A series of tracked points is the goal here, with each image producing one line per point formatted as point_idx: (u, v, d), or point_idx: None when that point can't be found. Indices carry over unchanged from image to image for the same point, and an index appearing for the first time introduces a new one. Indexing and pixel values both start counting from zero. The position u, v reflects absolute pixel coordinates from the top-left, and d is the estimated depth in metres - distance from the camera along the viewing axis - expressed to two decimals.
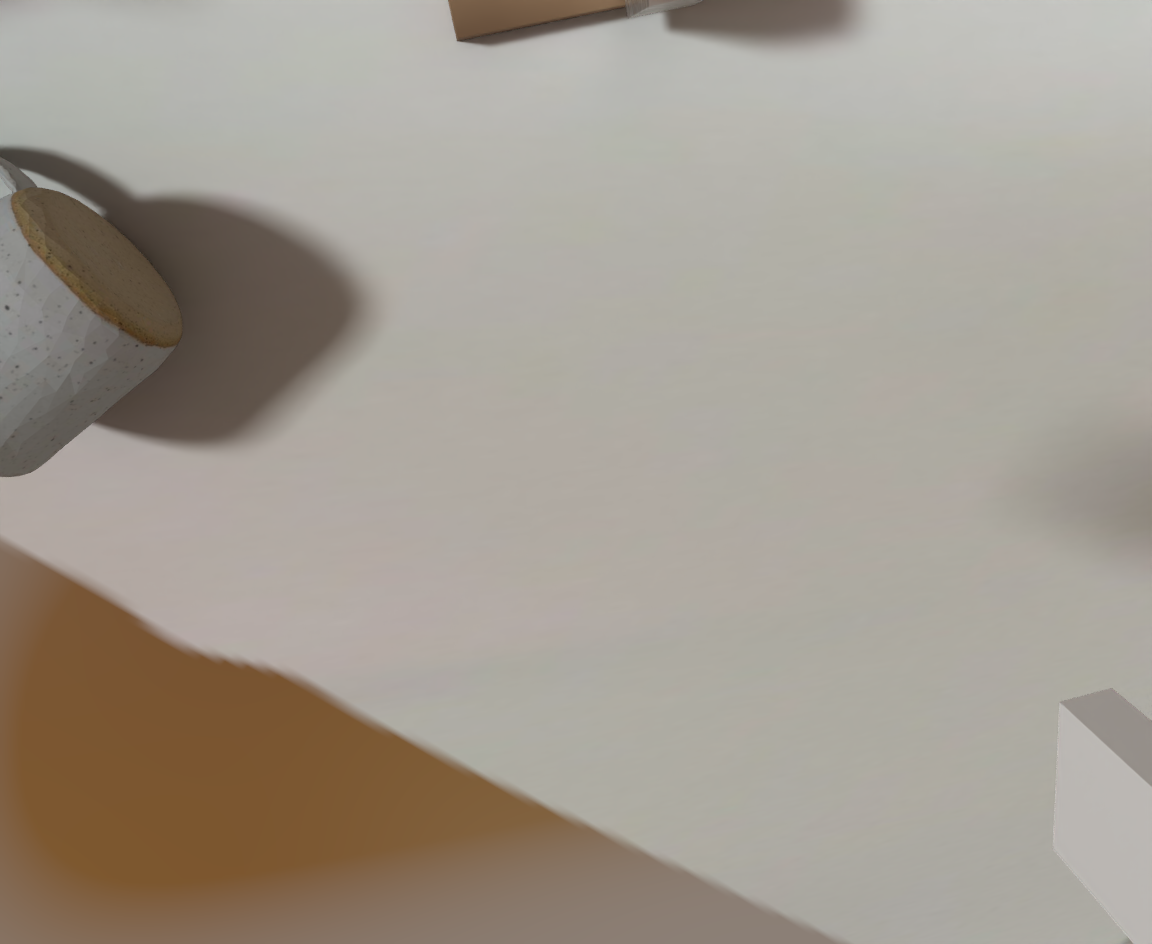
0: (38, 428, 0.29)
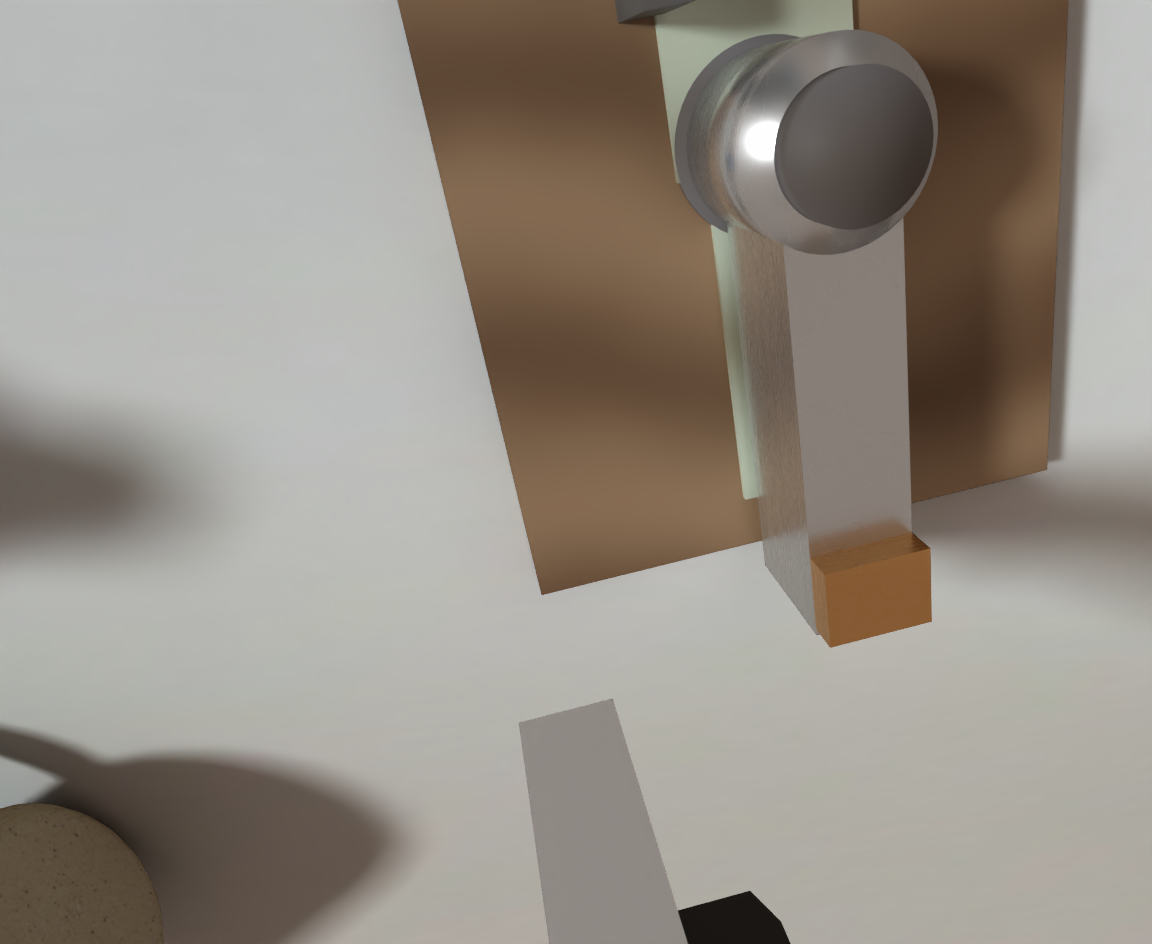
0: None
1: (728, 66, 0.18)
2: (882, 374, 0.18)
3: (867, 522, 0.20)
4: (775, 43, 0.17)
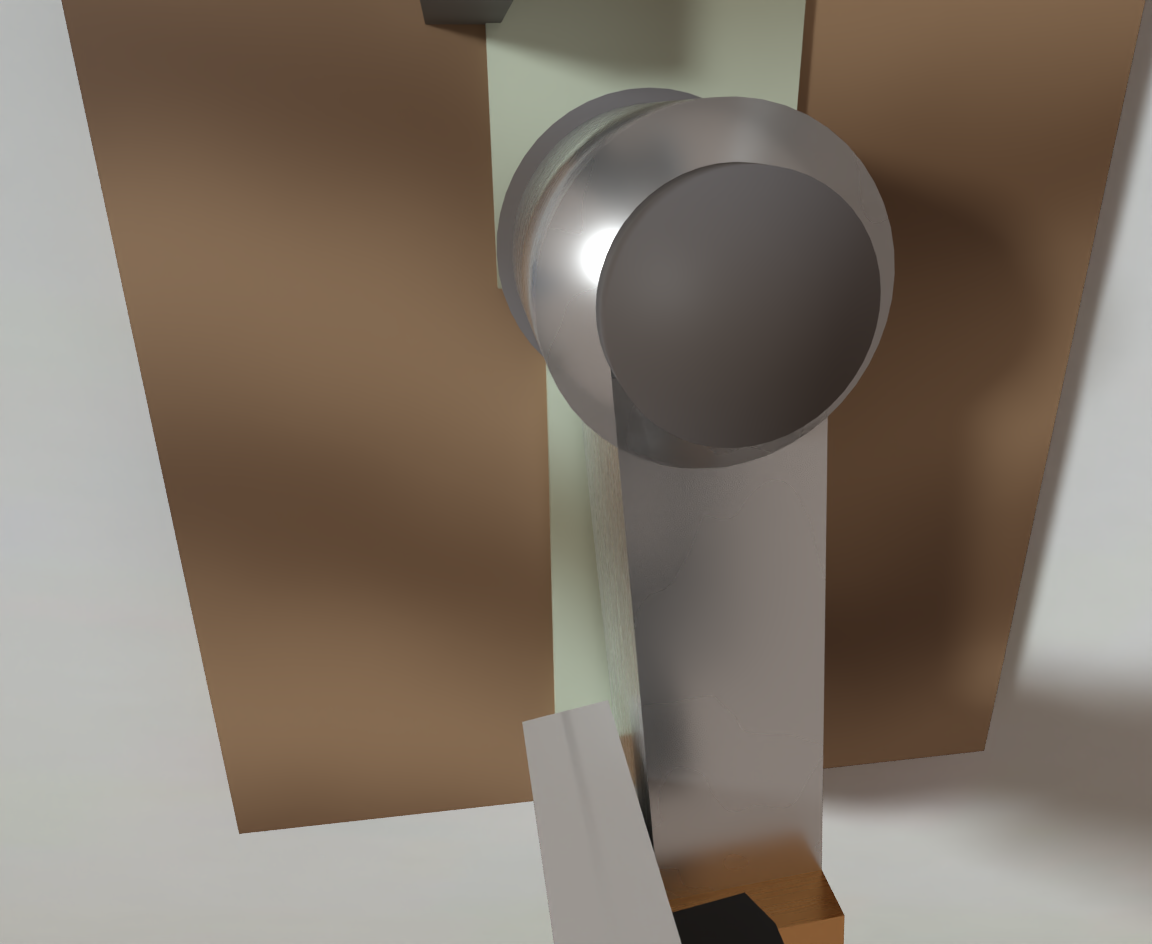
0: None
1: (573, 133, 0.11)
2: (783, 651, 0.11)
3: (751, 856, 0.12)
4: (642, 105, 0.10)
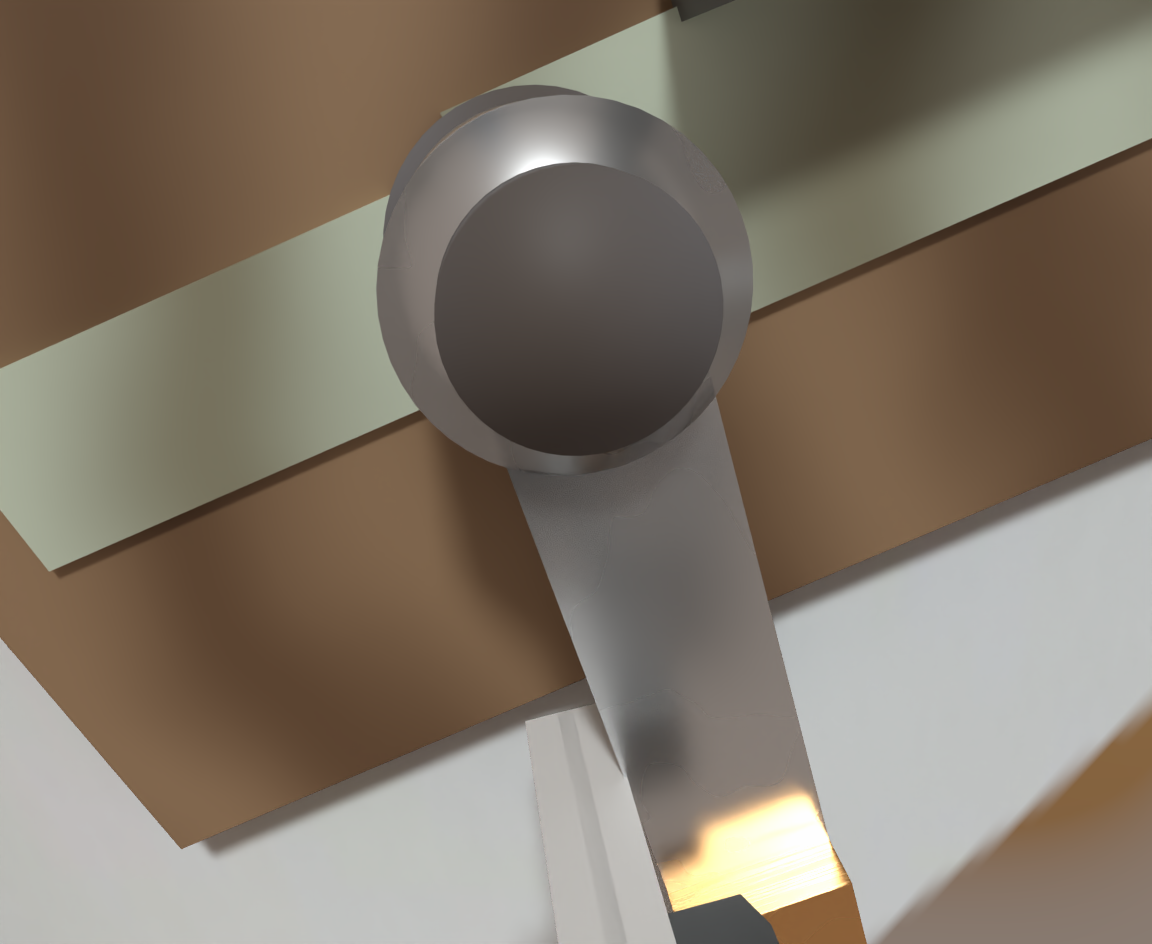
0: None
1: None
2: (731, 635, 0.11)
3: (751, 836, 0.12)
4: (480, 113, 0.10)
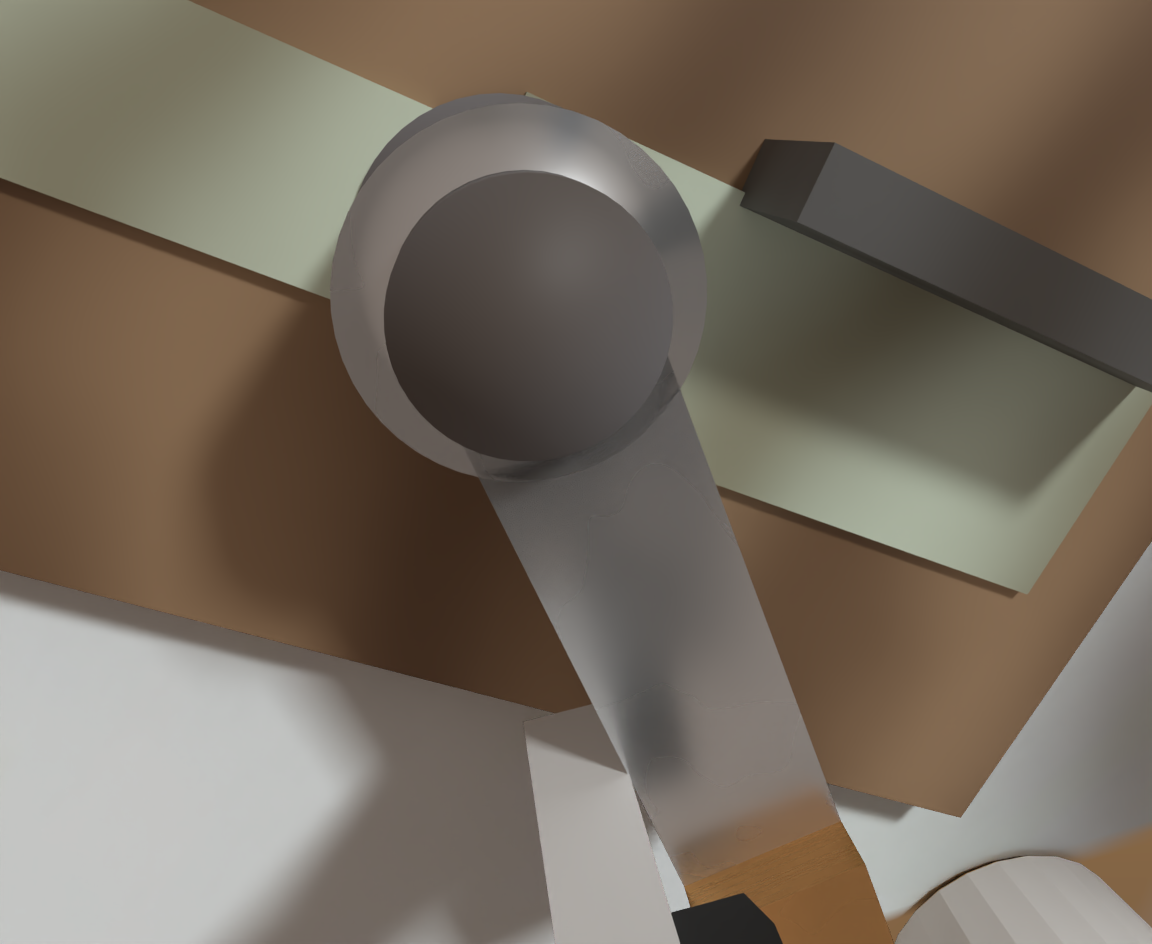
0: None
1: None
2: (722, 624, 0.11)
3: (762, 823, 0.12)
4: None
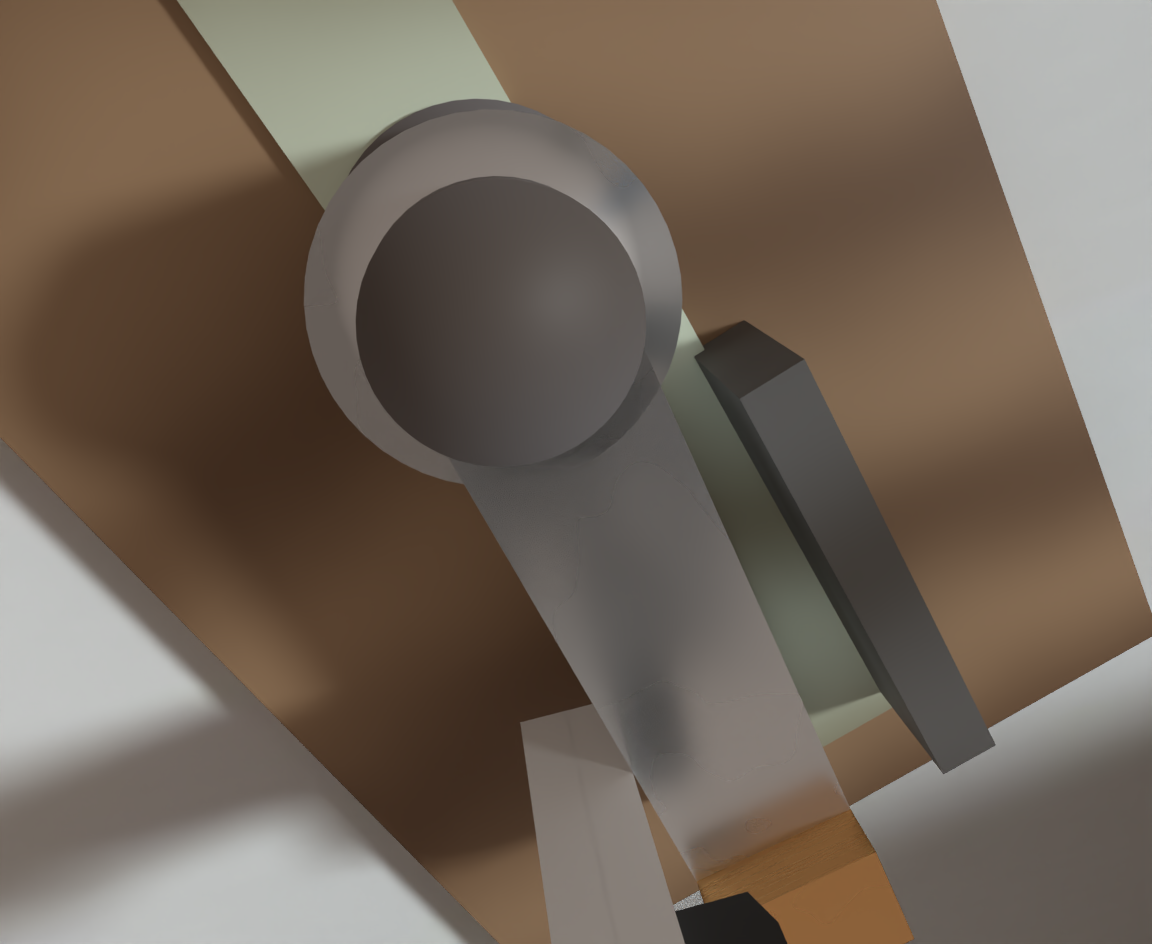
0: None
1: None
2: (718, 618, 0.11)
3: (771, 815, 0.12)
4: None
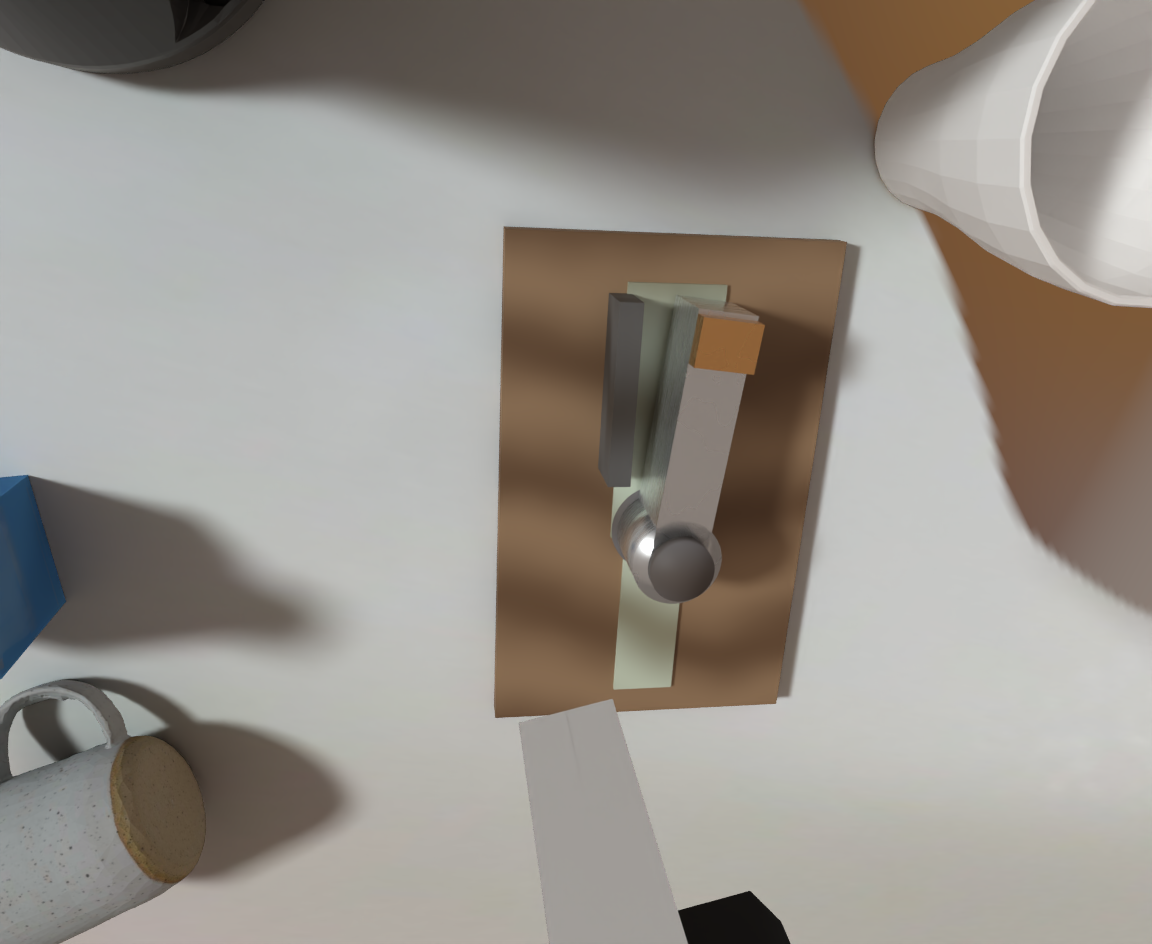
0: (77, 933, 0.38)
1: None
2: (682, 459, 0.36)
3: (711, 379, 0.34)
4: None
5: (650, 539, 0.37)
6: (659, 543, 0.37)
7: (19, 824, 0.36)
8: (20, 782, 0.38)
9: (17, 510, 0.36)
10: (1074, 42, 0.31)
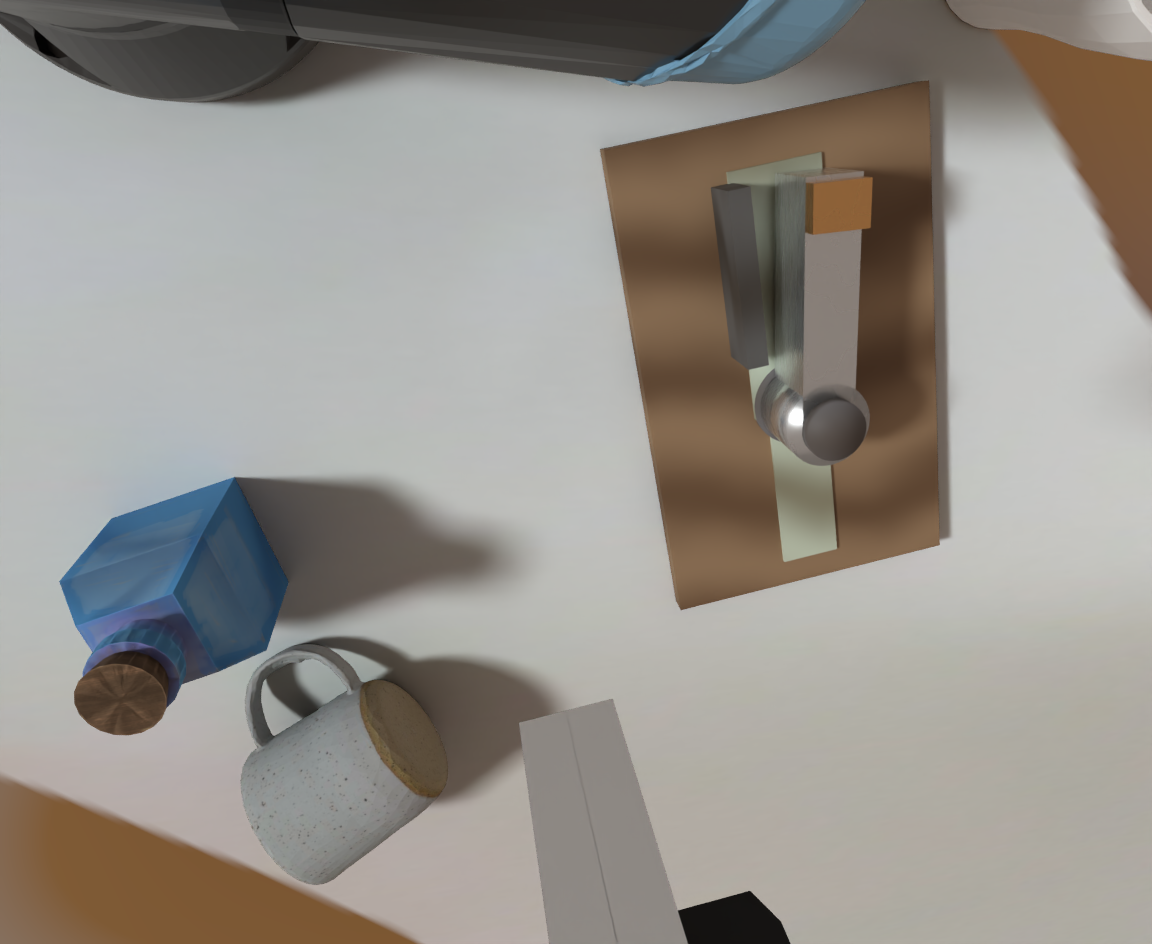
0: (364, 854, 0.43)
1: None
2: (815, 326, 0.37)
3: (829, 243, 0.36)
4: None
5: (799, 408, 0.39)
6: (808, 410, 0.39)
7: (297, 768, 0.41)
8: (284, 737, 0.43)
9: (236, 508, 0.40)
10: None
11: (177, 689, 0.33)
